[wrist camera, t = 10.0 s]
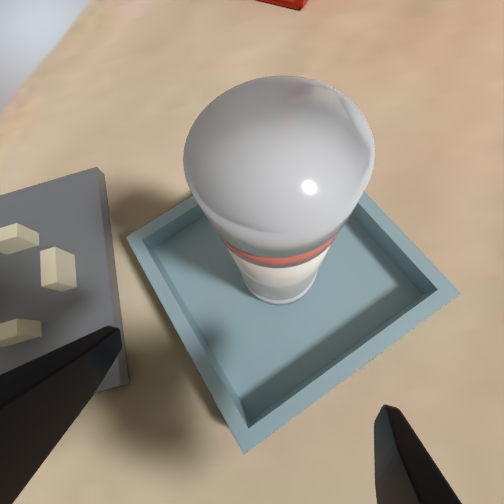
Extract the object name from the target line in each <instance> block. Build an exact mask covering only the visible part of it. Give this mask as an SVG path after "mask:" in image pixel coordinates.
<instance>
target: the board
mask: <svg viewBox="0 0 504 504" xmlns="http://www.w3.org/2000/svg"><path fill="white" fill-rule="evenodd" d="M108 325H110V326H114V327H118V328H119V329H120V331H121V337H122V349H121V351H120V353H119V355H118V356H117V358H116V359H115V361H114V363H113V364H112V366H111V368H110V369H109V371H108V373H107V374H106V376H105V378H104V379H103V381H102V382H101V384H100V386H99V387H98V389H97V390H96V392H95V393H97V392H100V391H103V390H107V389H110V388H114V387H117V386H120V385H124V384H127V383H129V376H128V368H127V360H126V351H125V343H124V335H123V326H122V318H121V310H120V301H119V293H118V285H117V277H116V268H115V260H114V252H113V243H112V235H111V227H110V218H109V210H108V202H107V193H106V185H105V177H104V174H103V173H102V172H101V171H100V170H99V169H98V168H97V167H95V168H91V169H88V170H85V171H81V172H78V173H74V174H71V175H68V176H64V177H61V178H58V179H54V180H51V181H48V182H44V183H41V184H38V185H34V186H31V187H27V188H24V189H21V190H17V191H14V192H11V193H7V194H4V195H1V196H0V375H1V374H3V373H5V372H7V371H10V370H12V369H14V368H16V367H18V366H20V365H23V364H25V363H27V362H29V361H31V360H33V359H36V358H38V357H40V356H42V355H44V354H46V353H49V352H51V351H53V350H55V349H57V348H60V347H62V346H64V345H66V344H68V343H70V342H73V341H75V340H77V339H79V338H81V337H83V336H86V335H88V334H90V333H92V332H94V331H96V330H99V329H101V328H103V327H105V326H108Z"/></svg>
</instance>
